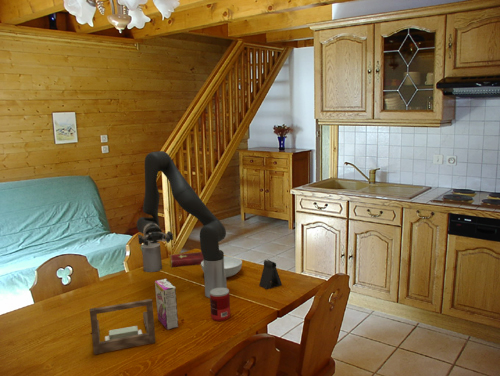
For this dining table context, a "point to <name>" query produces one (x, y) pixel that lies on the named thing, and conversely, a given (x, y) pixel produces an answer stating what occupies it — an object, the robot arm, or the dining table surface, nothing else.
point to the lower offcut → (109, 339)
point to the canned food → (220, 304)
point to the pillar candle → (151, 257)
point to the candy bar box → (166, 303)
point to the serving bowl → (229, 265)
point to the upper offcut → (123, 332)
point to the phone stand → (270, 276)
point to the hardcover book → (186, 259)
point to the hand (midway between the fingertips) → (157, 241)
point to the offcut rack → (125, 341)
